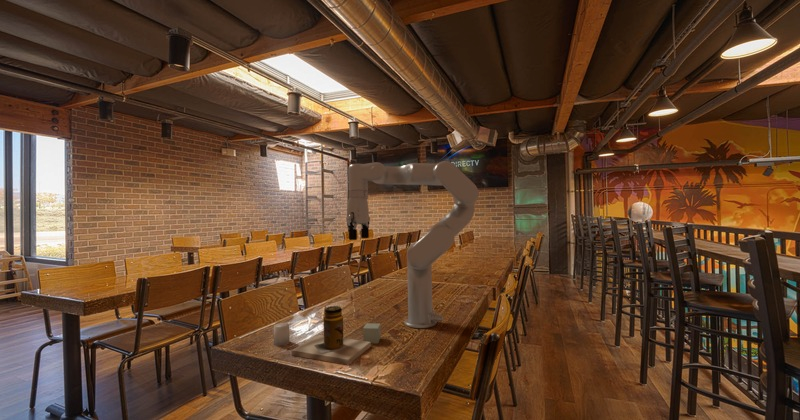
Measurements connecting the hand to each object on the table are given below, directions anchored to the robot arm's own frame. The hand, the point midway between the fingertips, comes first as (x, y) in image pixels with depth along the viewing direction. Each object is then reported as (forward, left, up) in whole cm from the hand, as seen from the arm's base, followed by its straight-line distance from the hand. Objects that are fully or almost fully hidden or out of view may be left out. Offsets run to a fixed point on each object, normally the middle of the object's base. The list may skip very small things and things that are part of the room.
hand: (359, 238), depth 131 cm
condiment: (-4, +27, -32) cm, 42 cm away
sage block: (-12, +14, -33) cm, 38 cm away
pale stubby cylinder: (+16, +26, -33) cm, 45 cm away
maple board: (-4, +26, -33) cm, 42 cm away
